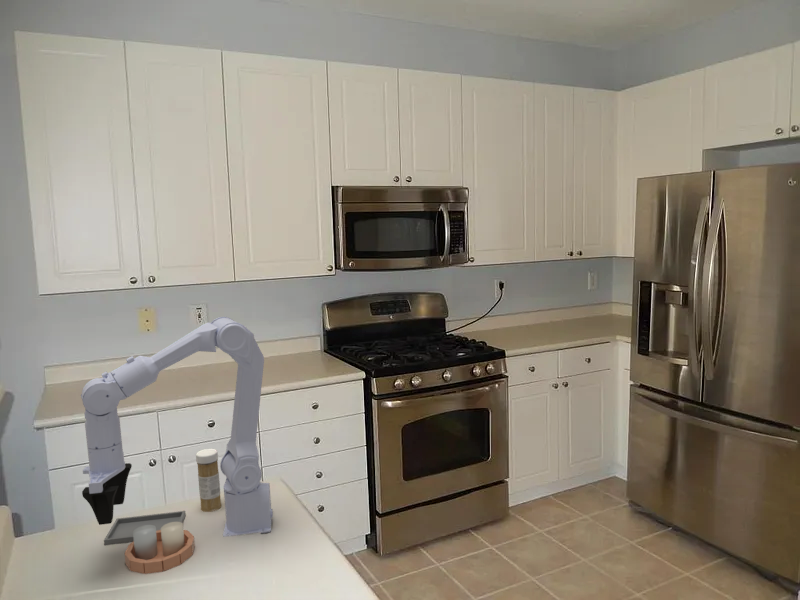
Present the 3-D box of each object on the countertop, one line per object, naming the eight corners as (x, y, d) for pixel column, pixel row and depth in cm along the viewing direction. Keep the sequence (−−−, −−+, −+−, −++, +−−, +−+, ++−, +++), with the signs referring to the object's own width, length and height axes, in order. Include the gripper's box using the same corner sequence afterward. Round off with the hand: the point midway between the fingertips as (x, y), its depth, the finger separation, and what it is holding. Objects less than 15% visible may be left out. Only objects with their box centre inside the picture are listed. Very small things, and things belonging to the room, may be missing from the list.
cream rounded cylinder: (186, 544, 116) (184, 520, 115) (183, 555, 112) (181, 530, 111) (165, 547, 115) (163, 523, 114) (160, 558, 111) (158, 533, 111)
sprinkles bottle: (216, 502, 135) (212, 446, 133) (225, 509, 132) (220, 451, 130) (197, 509, 132) (192, 451, 131) (204, 516, 129) (200, 457, 127)
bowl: (198, 537, 120) (197, 525, 120) (188, 570, 108) (187, 557, 108) (135, 544, 118) (134, 532, 118) (119, 579, 106) (117, 566, 106)
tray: (185, 517, 129) (185, 510, 128) (178, 538, 120) (177, 531, 120) (117, 525, 126) (116, 518, 126) (104, 547, 117) (103, 540, 117)
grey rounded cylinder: (159, 547, 115) (157, 523, 114) (155, 559, 111) (153, 534, 110) (138, 550, 114) (135, 526, 114) (132, 562, 110) (130, 536, 110)
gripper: (94, 432, 115) (100, 498, 117) (66, 461, 101) (74, 535, 103) (132, 429, 116) (138, 494, 118) (110, 456, 102) (118, 530, 104)
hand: (111, 513), depth 110 cm, fingers open, 7 cm apart
